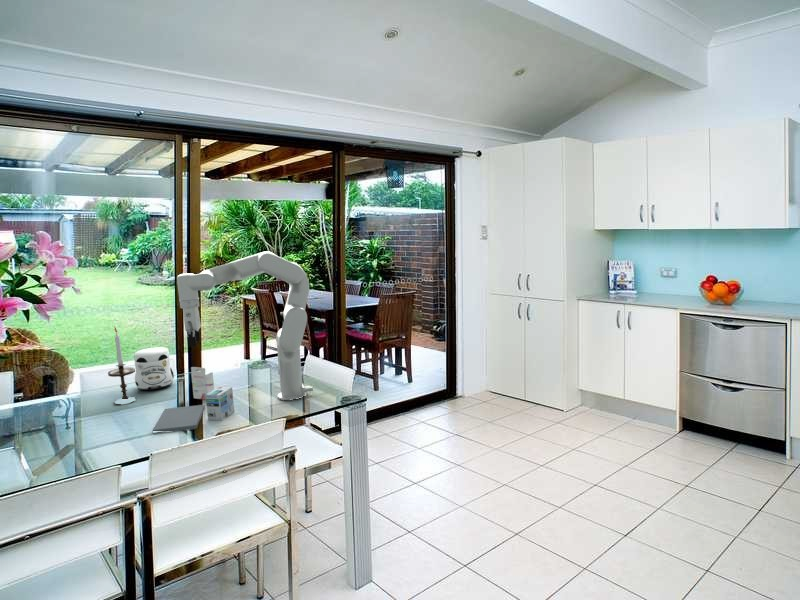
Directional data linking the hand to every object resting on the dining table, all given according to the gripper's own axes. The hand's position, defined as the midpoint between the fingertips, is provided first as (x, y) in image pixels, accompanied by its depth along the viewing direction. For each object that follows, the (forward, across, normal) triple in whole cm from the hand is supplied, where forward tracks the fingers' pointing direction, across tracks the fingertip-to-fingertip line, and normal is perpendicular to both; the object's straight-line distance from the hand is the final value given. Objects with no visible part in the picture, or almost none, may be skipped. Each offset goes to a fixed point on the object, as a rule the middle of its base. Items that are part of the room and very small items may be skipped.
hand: (194, 343), depth 237 cm
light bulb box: (+29, -12, -9) cm, 33 cm away
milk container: (+29, +40, +28) cm, 56 cm away
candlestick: (+28, +21, +36) cm, 51 cm away
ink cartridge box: (+29, +15, +1) cm, 33 cm away
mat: (+28, -12, +7) cm, 32 cm away
